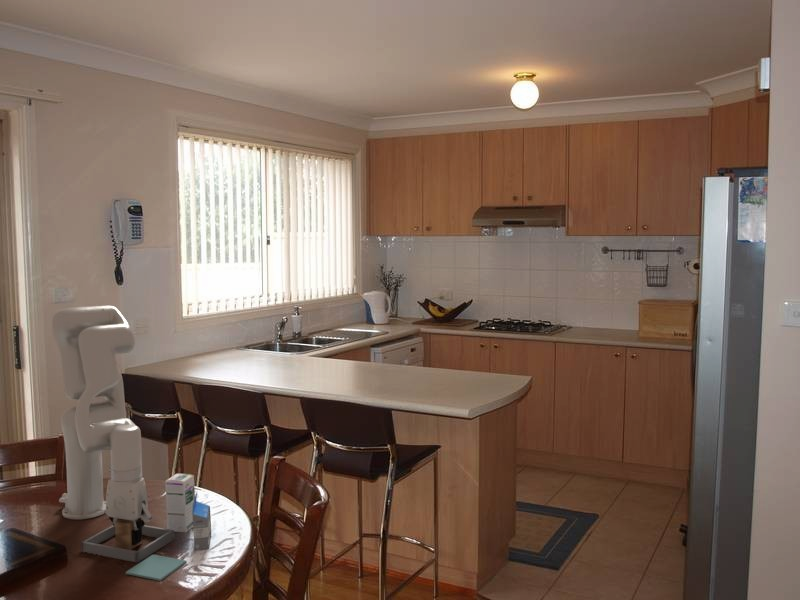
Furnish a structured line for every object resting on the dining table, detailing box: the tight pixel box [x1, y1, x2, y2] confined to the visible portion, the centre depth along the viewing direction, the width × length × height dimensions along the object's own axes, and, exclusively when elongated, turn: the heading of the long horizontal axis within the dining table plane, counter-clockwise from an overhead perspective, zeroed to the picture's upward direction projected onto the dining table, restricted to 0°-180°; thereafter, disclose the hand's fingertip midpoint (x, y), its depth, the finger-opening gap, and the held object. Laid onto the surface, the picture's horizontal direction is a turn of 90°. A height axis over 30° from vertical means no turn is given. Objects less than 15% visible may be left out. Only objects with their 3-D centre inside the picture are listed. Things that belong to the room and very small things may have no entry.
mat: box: [125, 553, 187, 582], centre depth 175 cm, size 10×10×1 cm
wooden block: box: [114, 519, 143, 550], centre depth 187 cm, size 4×4×7 cm
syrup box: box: [165, 473, 196, 534], centre depth 198 cm, size 6×6×14 cm
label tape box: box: [192, 492, 212, 551], centre depth 189 cm, size 9×4×12 cm, turn 10°
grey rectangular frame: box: [80, 524, 175, 564], centre depth 187 cm, size 17×14×2 cm
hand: (128, 541), depth 187 cm, fingers closed on wooden block, 4 cm apart
